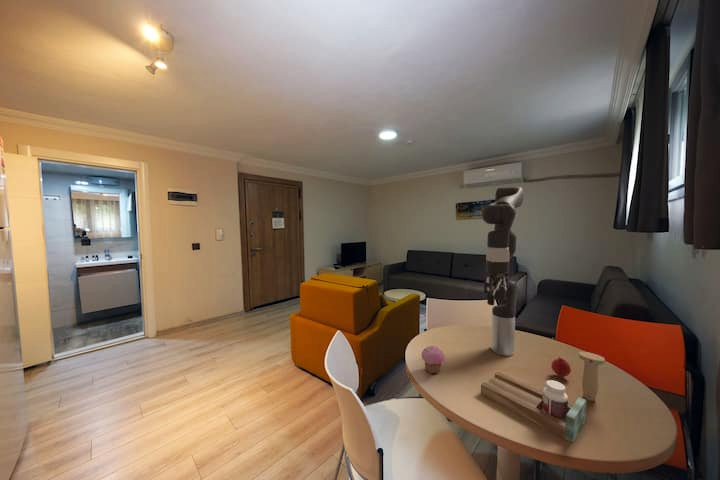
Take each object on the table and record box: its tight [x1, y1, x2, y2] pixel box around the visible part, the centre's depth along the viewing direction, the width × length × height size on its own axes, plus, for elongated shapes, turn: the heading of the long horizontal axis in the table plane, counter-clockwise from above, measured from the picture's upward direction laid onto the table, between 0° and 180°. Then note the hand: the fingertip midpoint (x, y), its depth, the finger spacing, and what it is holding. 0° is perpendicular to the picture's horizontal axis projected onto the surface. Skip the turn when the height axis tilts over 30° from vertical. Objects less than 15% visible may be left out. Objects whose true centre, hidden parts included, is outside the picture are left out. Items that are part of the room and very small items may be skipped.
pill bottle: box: [541, 379, 569, 422], centre depth 80 cm, size 6×6×11 cm
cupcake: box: [421, 345, 445, 374], centre depth 106 cm, size 9×9×10 cm
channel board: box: [480, 371, 587, 444], centre depth 86 cm, size 12×26×7 cm, turn 37°
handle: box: [578, 351, 606, 402], centre depth 89 cm, size 5×6×15 cm
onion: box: [551, 356, 572, 378], centre depth 101 cm, size 6×6×8 cm
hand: (496, 302), depth 98 cm, fingers open, 8 cm apart
